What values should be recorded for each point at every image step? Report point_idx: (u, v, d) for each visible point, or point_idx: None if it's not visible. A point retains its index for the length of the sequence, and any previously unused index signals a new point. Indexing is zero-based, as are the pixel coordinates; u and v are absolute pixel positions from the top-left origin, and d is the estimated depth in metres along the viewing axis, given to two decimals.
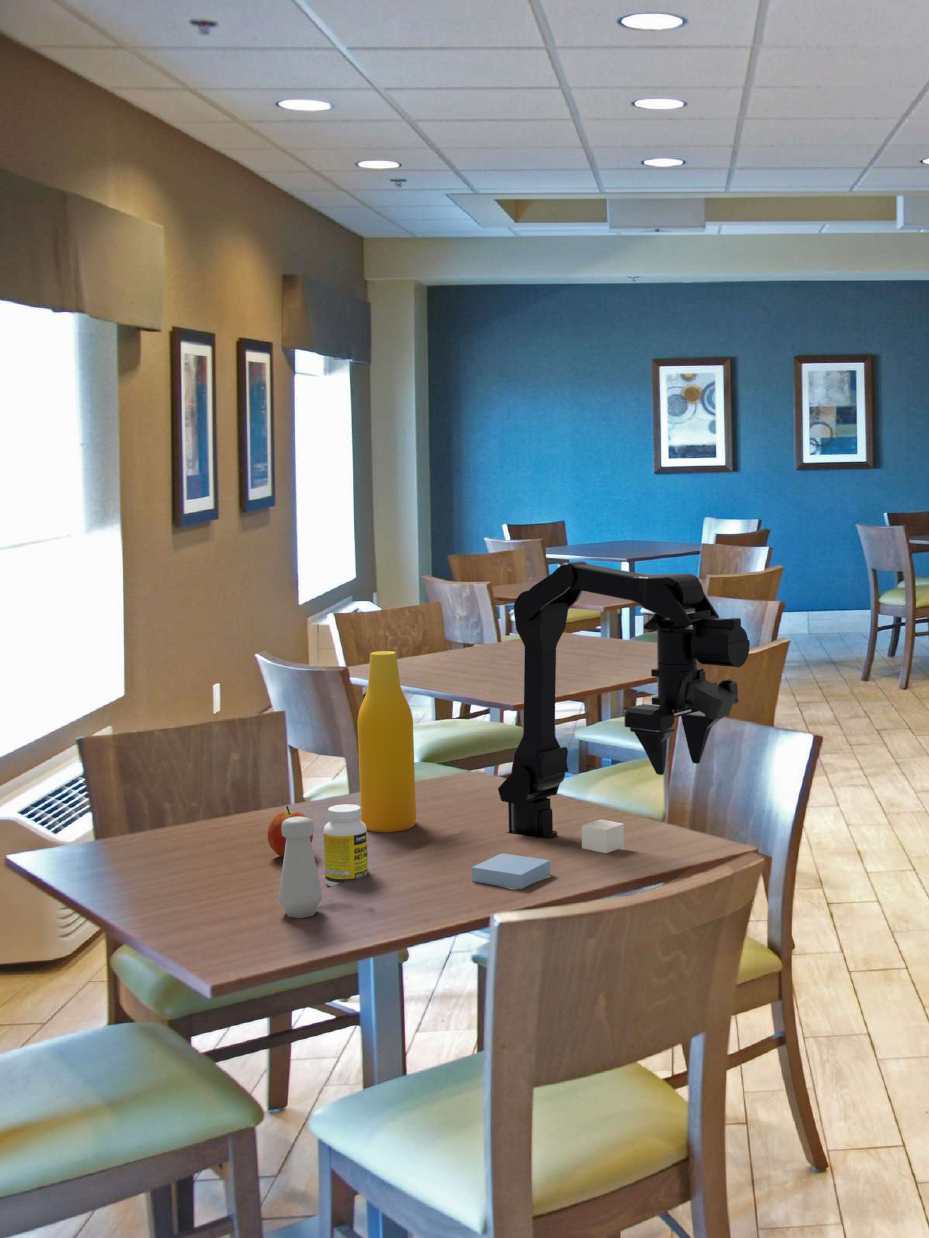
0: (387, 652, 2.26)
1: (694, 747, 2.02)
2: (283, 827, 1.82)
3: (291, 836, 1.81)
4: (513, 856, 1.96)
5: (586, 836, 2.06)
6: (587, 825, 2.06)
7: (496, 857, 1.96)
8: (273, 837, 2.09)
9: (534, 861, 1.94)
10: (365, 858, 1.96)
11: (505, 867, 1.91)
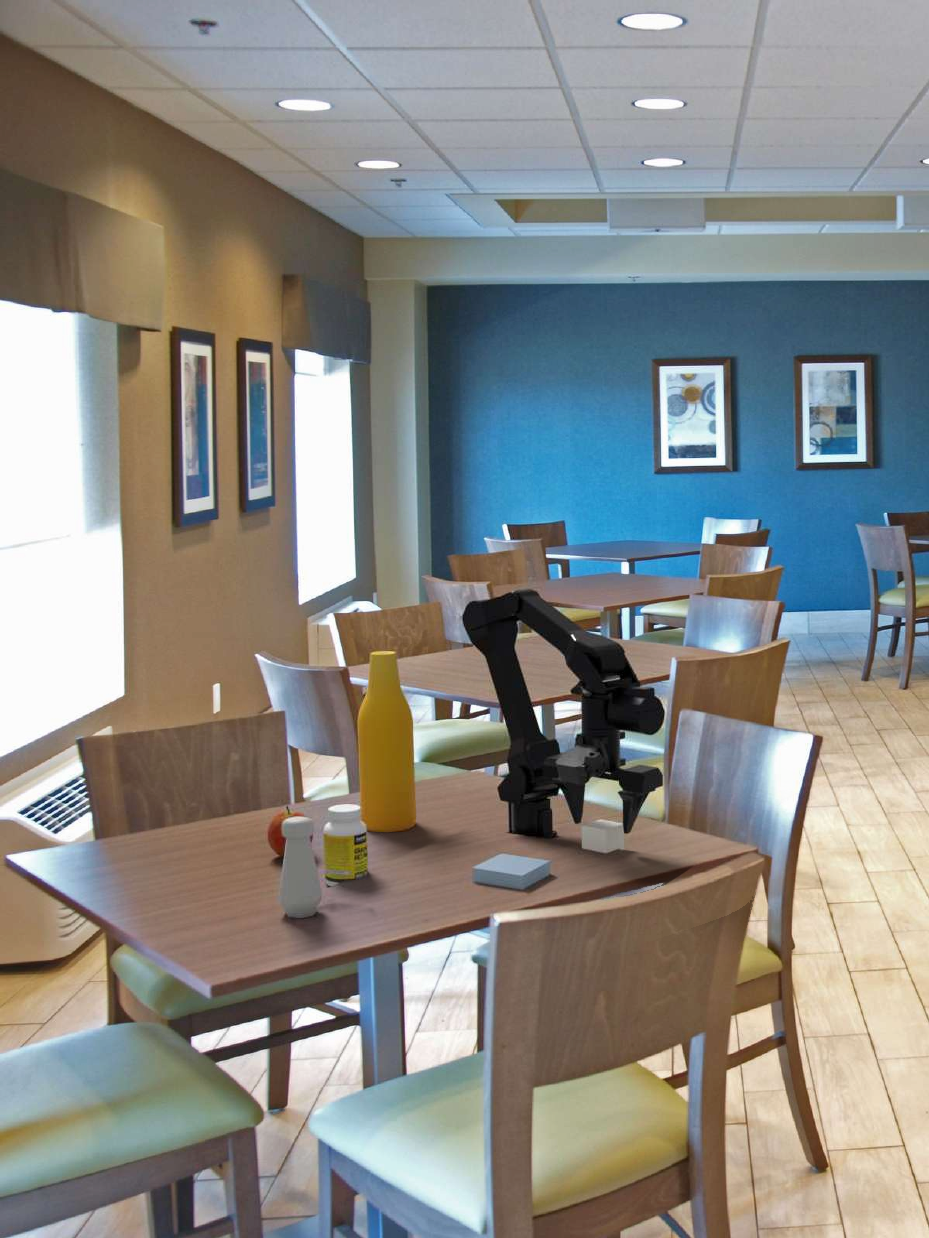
0: (387, 652, 2.26)
1: None
2: (283, 827, 1.82)
3: (291, 836, 1.81)
4: (513, 856, 1.96)
5: (586, 836, 2.06)
6: (587, 825, 2.06)
7: (496, 857, 1.96)
8: (273, 837, 2.09)
9: (534, 862, 1.94)
10: (365, 858, 1.96)
11: (506, 867, 1.91)
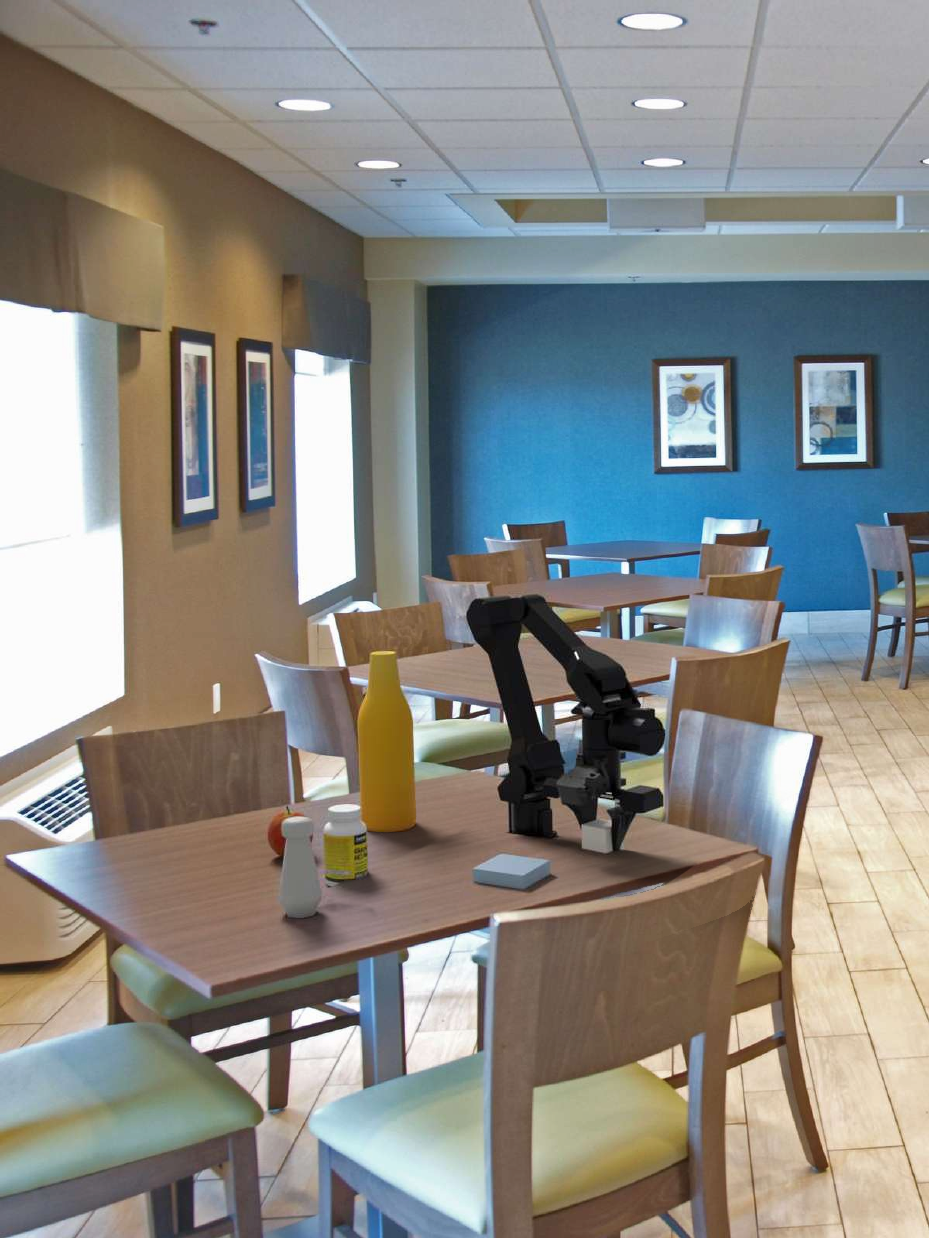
0: (387, 652, 2.26)
1: None
2: (283, 827, 1.82)
3: (291, 836, 1.81)
4: (512, 856, 1.97)
5: (586, 836, 2.06)
6: (587, 824, 2.06)
7: (495, 858, 1.96)
8: (273, 837, 2.09)
9: (534, 861, 1.94)
10: (365, 858, 1.96)
11: (506, 867, 1.91)
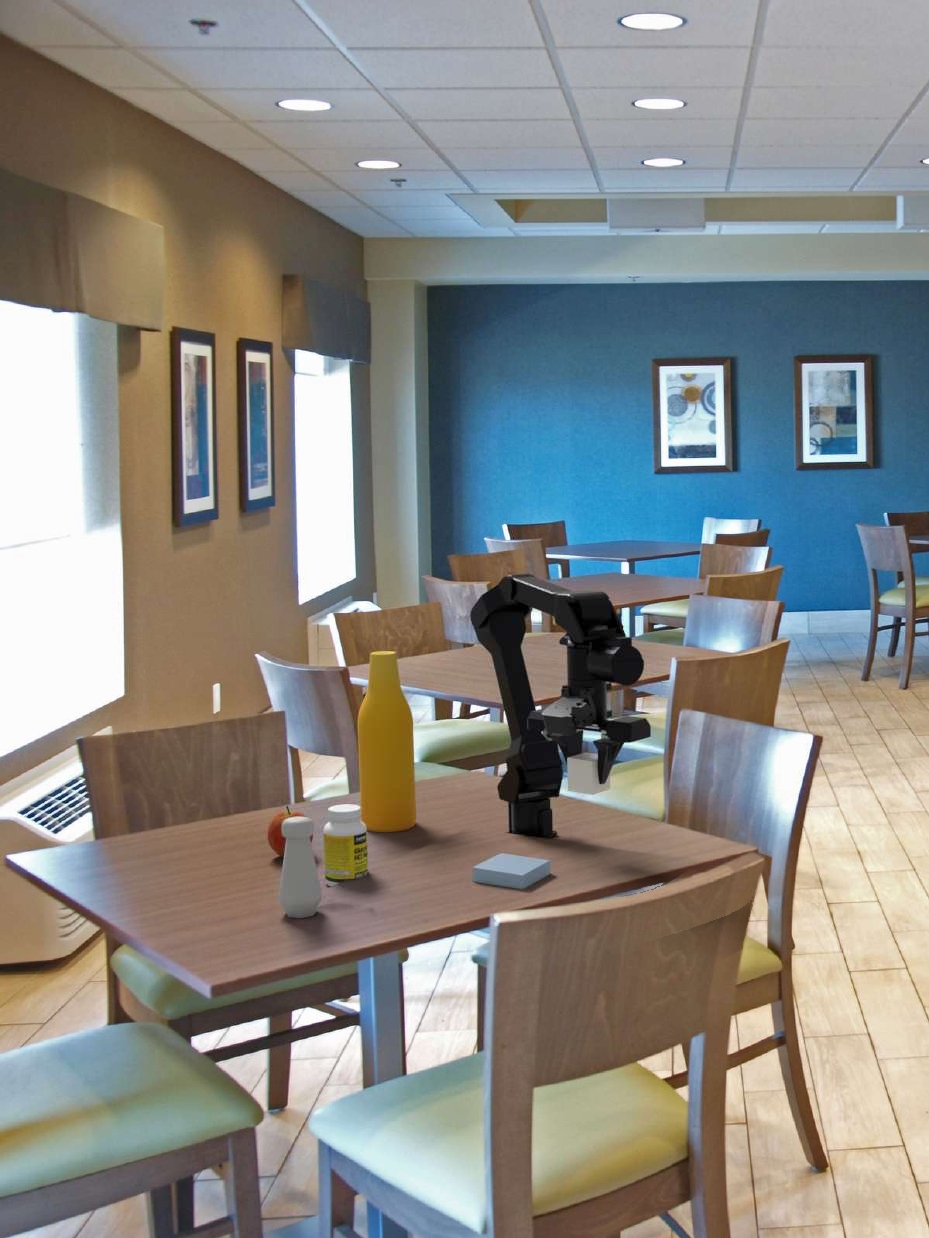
0: (387, 652, 2.26)
1: None
2: (283, 827, 1.82)
3: (291, 836, 1.81)
4: (513, 856, 1.97)
5: (572, 769, 2.03)
6: (573, 757, 2.03)
7: (496, 857, 1.96)
8: (273, 837, 2.09)
9: (534, 861, 1.94)
10: (365, 858, 1.96)
11: (506, 867, 1.91)
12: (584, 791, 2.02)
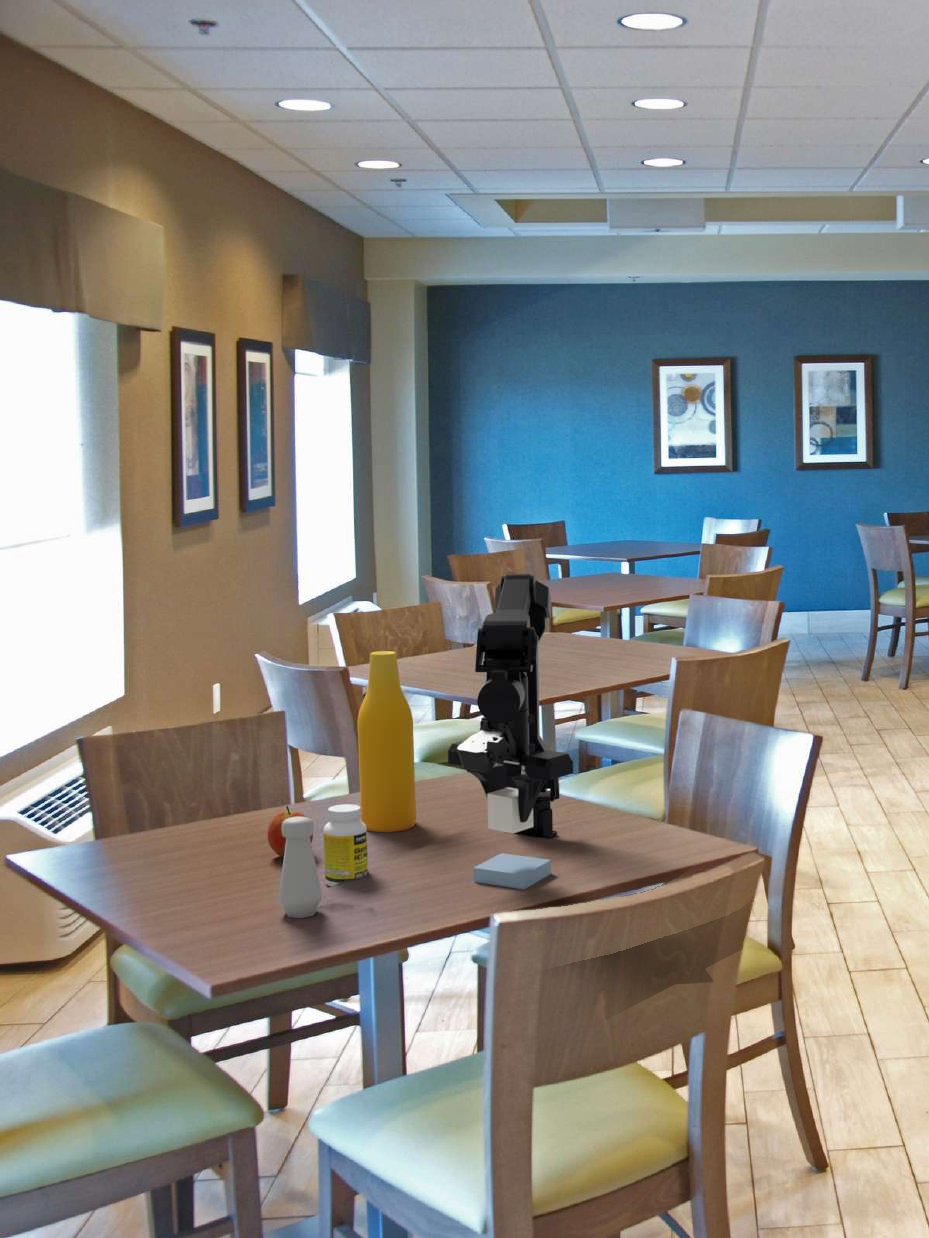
0: (387, 652, 2.26)
1: None
2: (283, 827, 1.82)
3: (291, 836, 1.81)
4: (513, 856, 1.97)
5: (492, 806, 1.91)
6: (493, 793, 1.92)
7: (496, 857, 1.96)
8: (273, 837, 2.09)
9: (535, 861, 1.94)
10: (365, 858, 1.96)
11: (507, 867, 1.91)
12: (504, 829, 1.90)
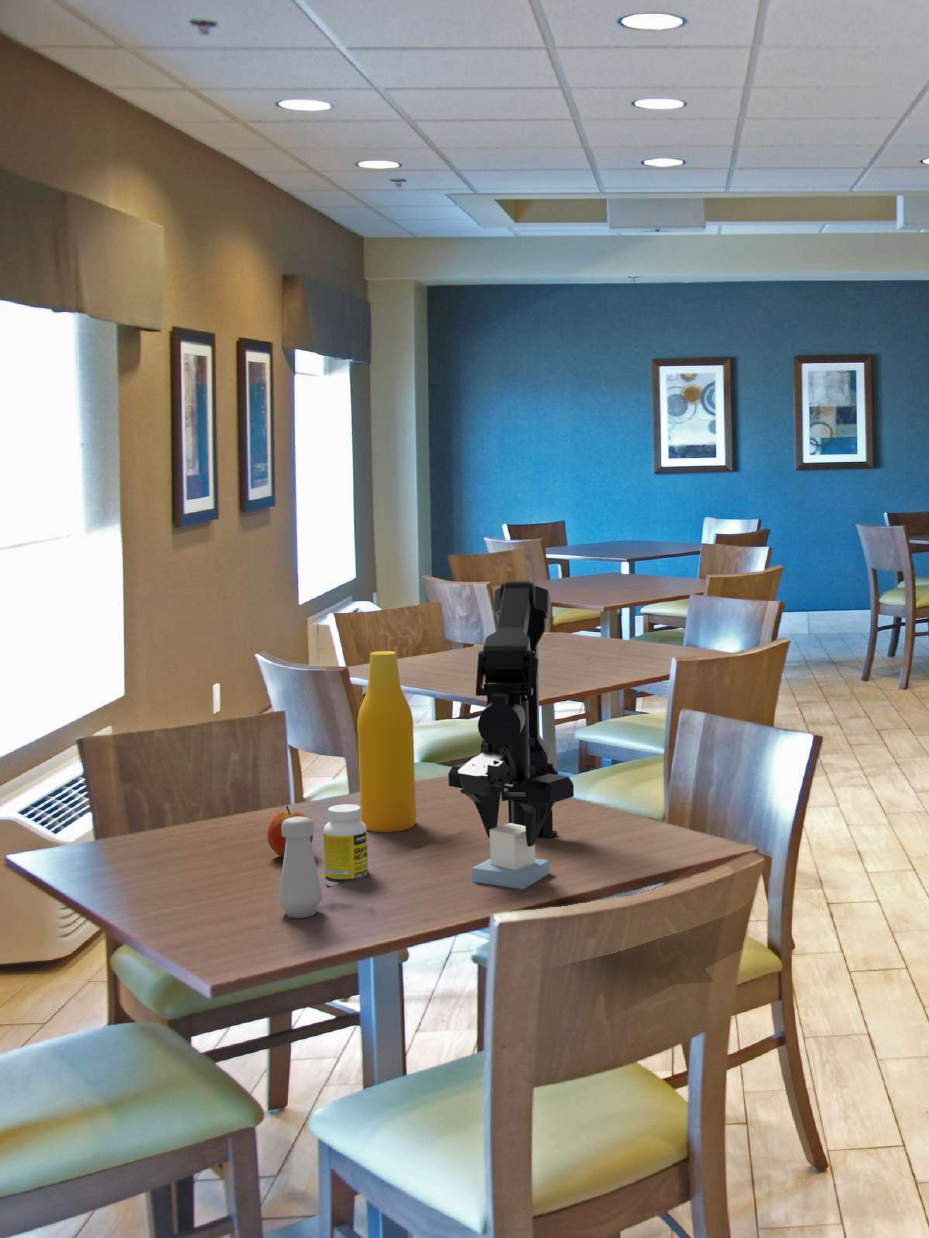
0: (387, 652, 2.26)
1: None
2: (283, 827, 1.82)
3: (291, 836, 1.81)
4: None
5: (494, 842, 1.92)
6: (495, 829, 1.92)
7: None
8: (273, 837, 2.09)
9: None
10: (365, 858, 1.96)
11: None
12: (506, 866, 1.91)
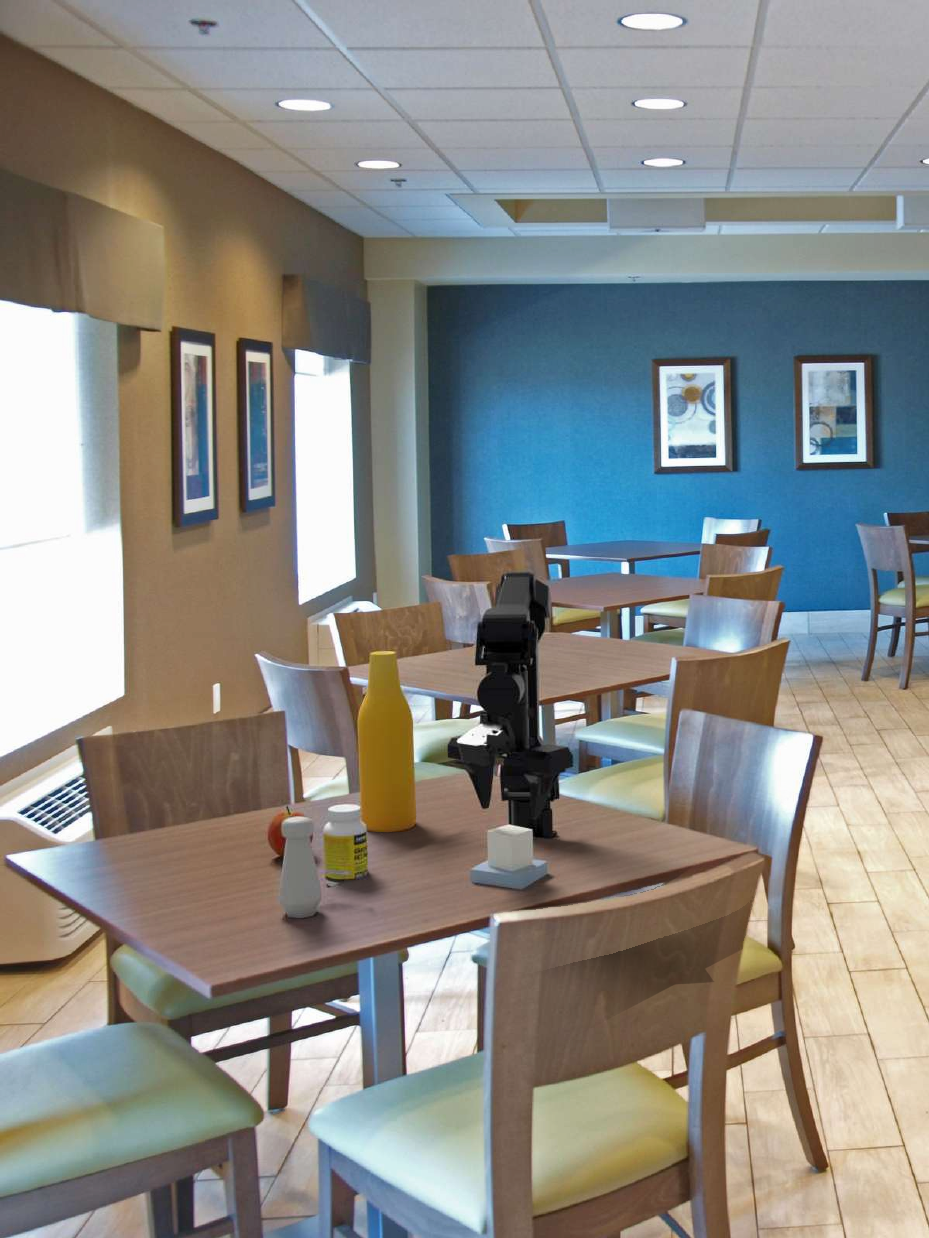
0: (387, 652, 2.26)
1: None
2: (283, 827, 1.82)
3: (291, 836, 1.81)
4: None
5: (492, 843, 1.92)
6: (493, 831, 1.92)
7: None
8: (273, 837, 2.09)
9: None
10: (365, 858, 1.96)
11: None
12: (504, 867, 1.91)
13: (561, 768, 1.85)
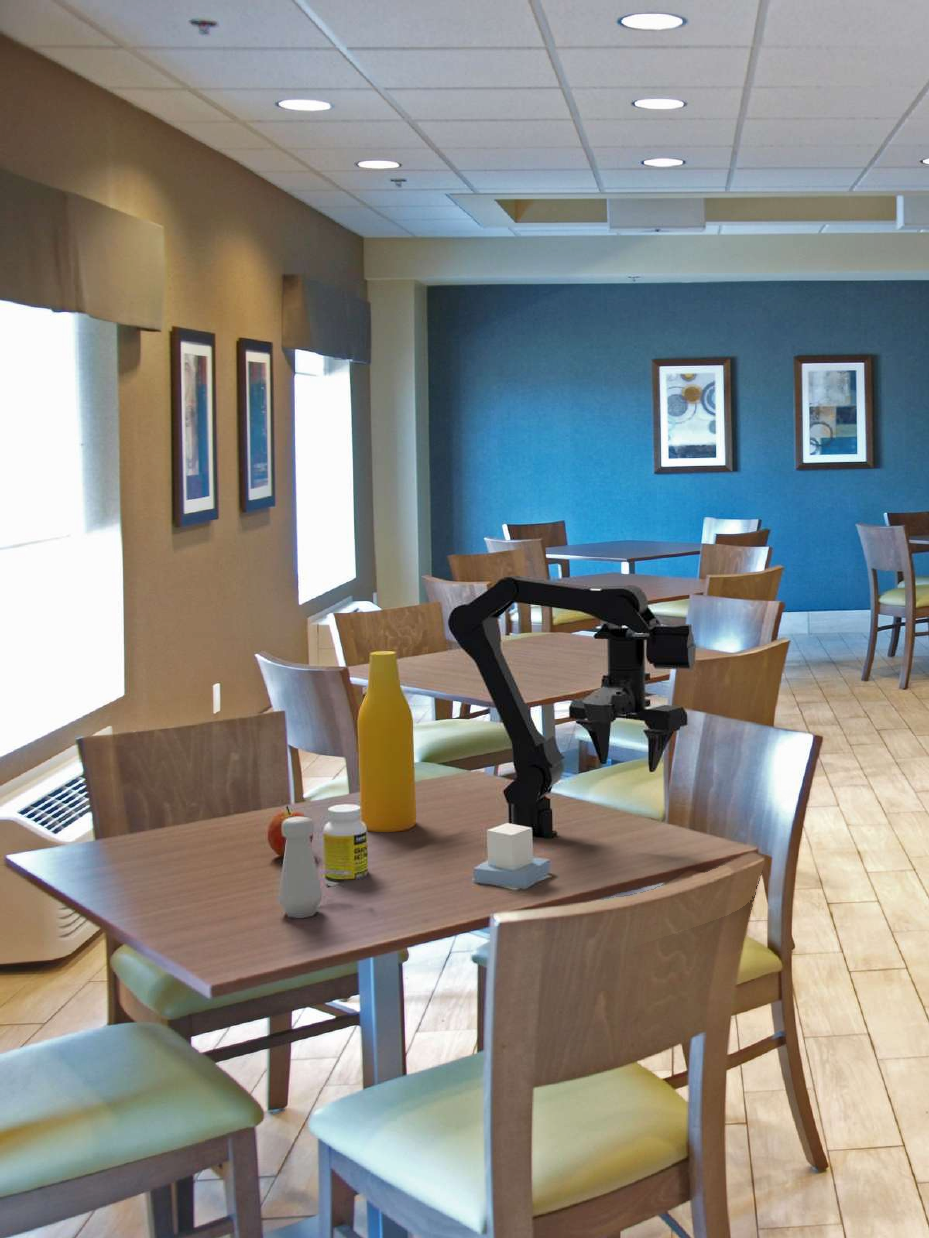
0: (387, 652, 2.26)
1: None
2: (283, 827, 1.82)
3: (291, 836, 1.81)
4: None
5: (492, 842, 1.92)
6: (492, 830, 1.92)
7: None
8: (273, 837, 2.09)
9: (534, 860, 1.94)
10: (365, 858, 1.96)
11: None
12: (504, 866, 1.91)
13: (677, 726, 2.05)
